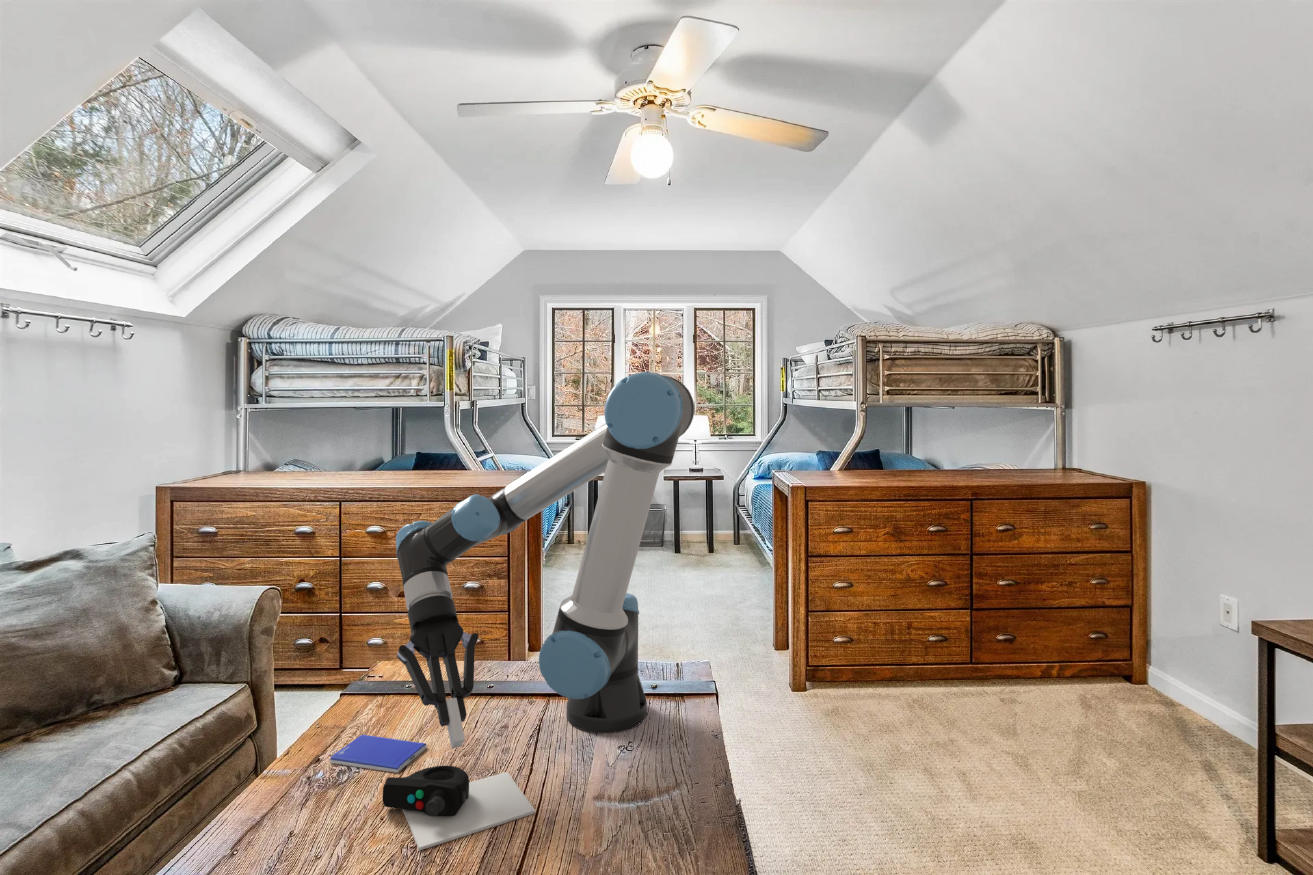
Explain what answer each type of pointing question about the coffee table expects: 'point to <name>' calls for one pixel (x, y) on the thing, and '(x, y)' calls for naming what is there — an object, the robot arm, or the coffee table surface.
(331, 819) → the coffee table surface
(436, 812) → the controller
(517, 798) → the grey mat
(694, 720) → the coffee table surface
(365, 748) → the hard drive
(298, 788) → the coffee table surface
